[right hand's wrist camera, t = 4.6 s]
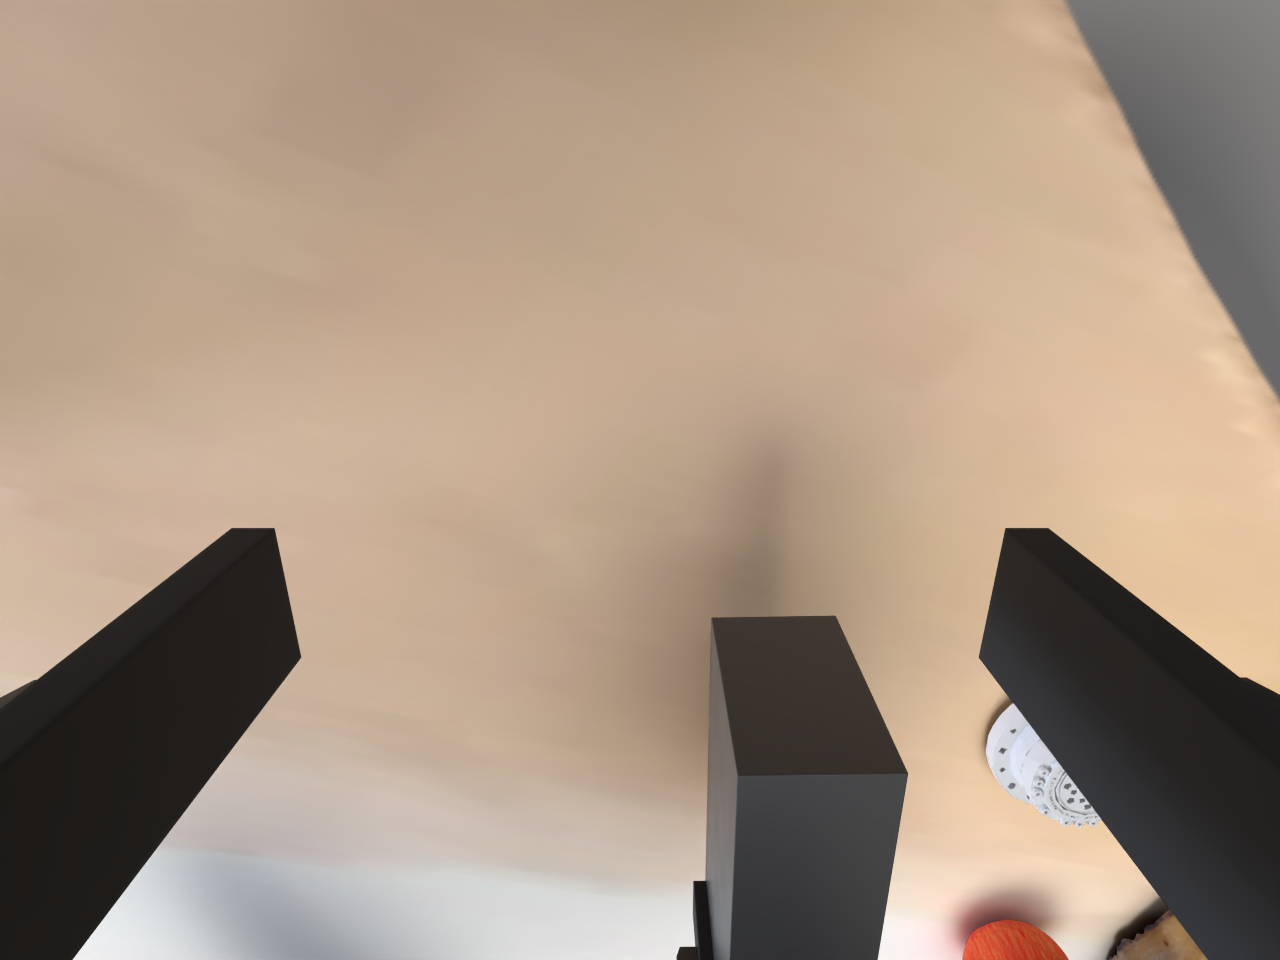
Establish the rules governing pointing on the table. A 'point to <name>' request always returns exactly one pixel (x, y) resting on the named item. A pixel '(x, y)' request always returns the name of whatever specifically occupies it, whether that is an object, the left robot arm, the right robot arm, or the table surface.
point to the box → (797, 794)
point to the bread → (1160, 943)
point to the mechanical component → (1034, 771)
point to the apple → (1011, 943)
